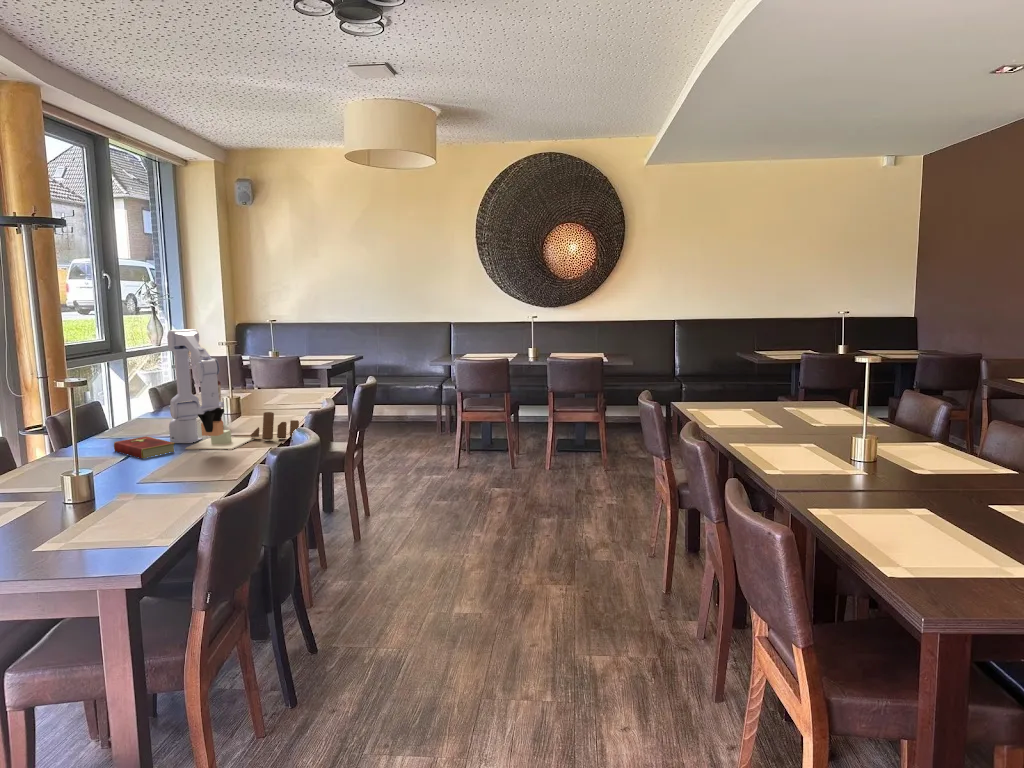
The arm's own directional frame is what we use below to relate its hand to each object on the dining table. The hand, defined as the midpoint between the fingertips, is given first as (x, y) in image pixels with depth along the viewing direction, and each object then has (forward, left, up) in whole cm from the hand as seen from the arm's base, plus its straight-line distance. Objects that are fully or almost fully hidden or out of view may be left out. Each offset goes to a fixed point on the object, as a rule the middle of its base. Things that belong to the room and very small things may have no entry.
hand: (212, 430), depth 248 cm
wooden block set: (+12, +23, -8) cm, 27 cm away
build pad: (-5, +14, -8) cm, 17 cm away
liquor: (-27, +48, -8) cm, 56 cm away
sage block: (-5, +14, -8) cm, 17 cm away
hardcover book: (-27, +1, -9) cm, 29 cm away
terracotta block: (0, 0, -2) cm, 2 cm away
